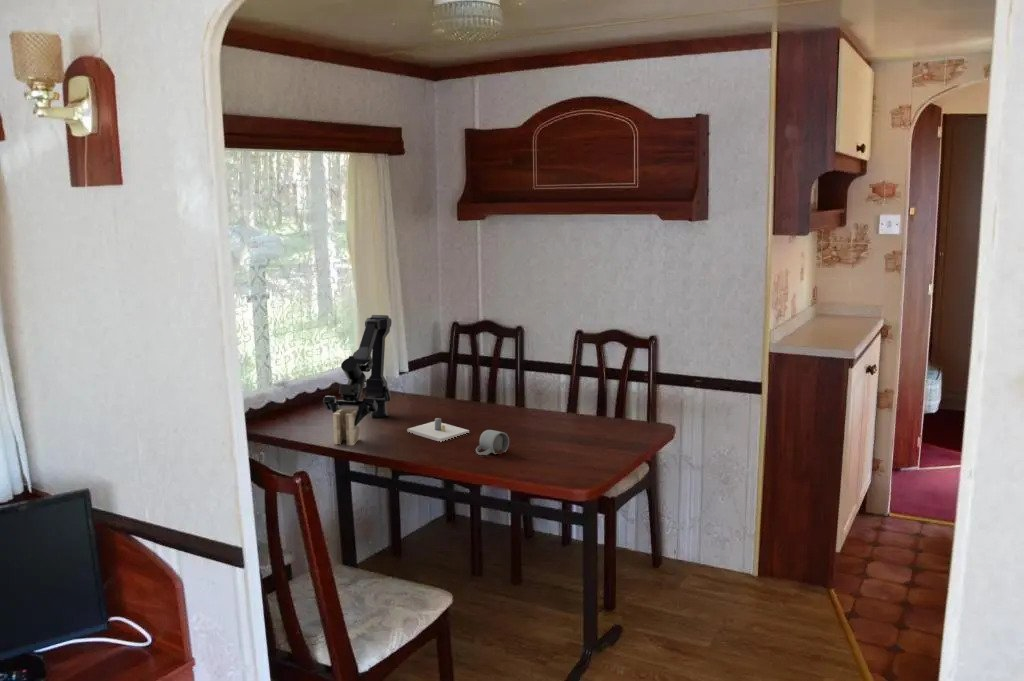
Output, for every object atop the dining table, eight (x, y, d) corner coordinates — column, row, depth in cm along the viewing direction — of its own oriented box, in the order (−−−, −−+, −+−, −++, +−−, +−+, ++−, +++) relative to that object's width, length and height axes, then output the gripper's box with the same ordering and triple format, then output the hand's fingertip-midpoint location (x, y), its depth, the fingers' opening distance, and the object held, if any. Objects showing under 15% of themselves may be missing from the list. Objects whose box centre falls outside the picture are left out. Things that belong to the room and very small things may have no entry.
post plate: (407, 432, 311) (406, 418, 310) (435, 424, 321) (435, 410, 320) (441, 442, 299) (440, 427, 298) (469, 433, 309) (469, 419, 308)
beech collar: (341, 438, 303) (340, 408, 301) (360, 439, 302) (359, 409, 300) (333, 444, 296) (332, 413, 294) (353, 445, 295) (352, 414, 293)
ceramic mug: (493, 446, 294) (493, 425, 292) (509, 452, 288) (509, 430, 286) (470, 454, 287) (469, 432, 285) (486, 459, 281) (485, 437, 279)
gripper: (323, 373, 300) (312, 412, 291) (374, 375, 297) (364, 414, 288) (332, 389, 309) (322, 427, 300) (382, 392, 306) (372, 430, 297)
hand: (345, 424), depth 296 cm, fingers closed on beech collar, 7 cm apart
